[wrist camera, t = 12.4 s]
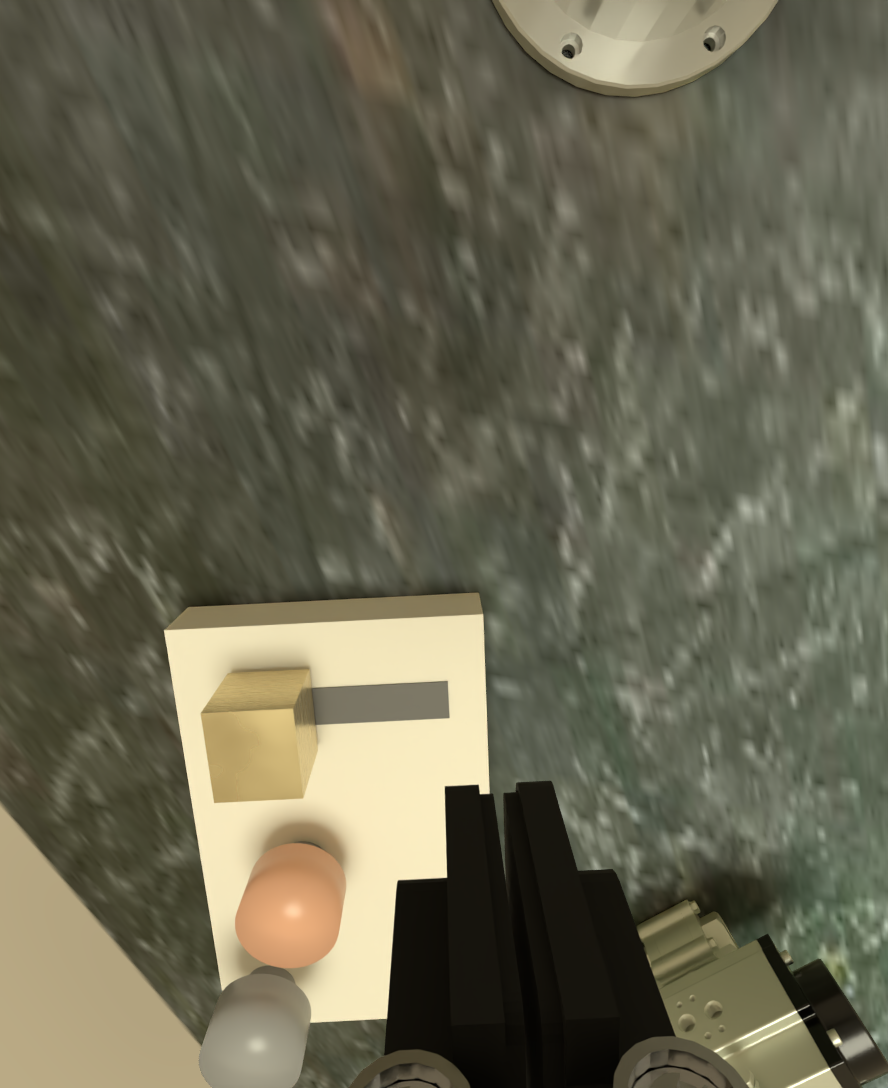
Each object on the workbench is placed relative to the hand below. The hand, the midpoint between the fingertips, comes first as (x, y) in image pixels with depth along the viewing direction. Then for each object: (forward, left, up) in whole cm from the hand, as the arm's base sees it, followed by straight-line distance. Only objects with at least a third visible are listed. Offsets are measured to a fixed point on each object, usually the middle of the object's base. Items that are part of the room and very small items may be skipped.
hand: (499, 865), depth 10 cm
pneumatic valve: (-11, +23, -22) cm, 34 cm away
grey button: (+10, +21, -18) cm, 29 cm away
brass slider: (+8, +7, -19) cm, 22 cm away
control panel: (+6, +14, -22) cm, 27 cm away
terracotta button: (+8, +15, -19) cm, 25 cm away
